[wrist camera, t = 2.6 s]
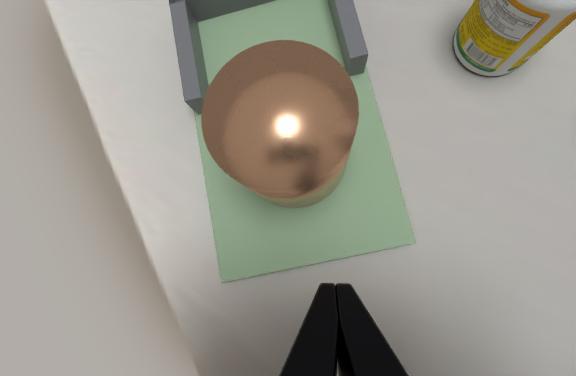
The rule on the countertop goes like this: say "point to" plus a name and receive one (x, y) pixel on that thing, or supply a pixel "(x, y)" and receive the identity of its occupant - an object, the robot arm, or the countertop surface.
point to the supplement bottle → (508, 32)
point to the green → (334, 208)
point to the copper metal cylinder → (282, 121)
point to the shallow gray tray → (212, 3)
